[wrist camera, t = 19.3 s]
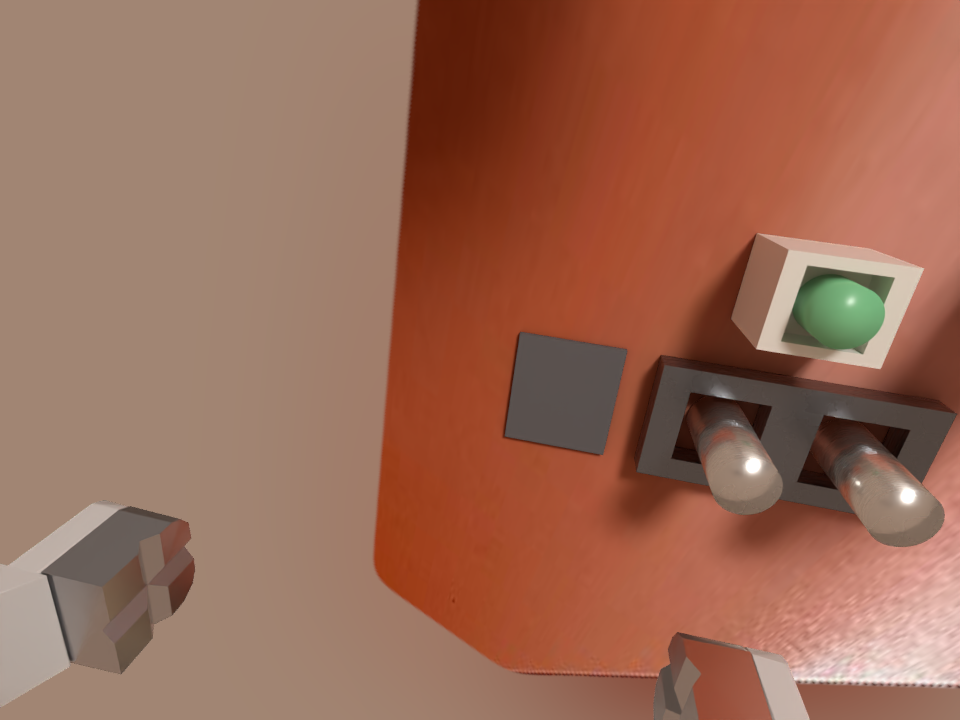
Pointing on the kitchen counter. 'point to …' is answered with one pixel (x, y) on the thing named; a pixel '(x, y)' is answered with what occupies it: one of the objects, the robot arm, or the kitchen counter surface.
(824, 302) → the button
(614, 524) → the kitchen counter surface
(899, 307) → the cream hollow block
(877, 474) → the cylinder
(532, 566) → the kitchen counter surface
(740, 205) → the kitchen counter surface
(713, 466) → the cylinder
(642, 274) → the kitchen counter surface
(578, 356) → the mat
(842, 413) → the dark grey holder frame
